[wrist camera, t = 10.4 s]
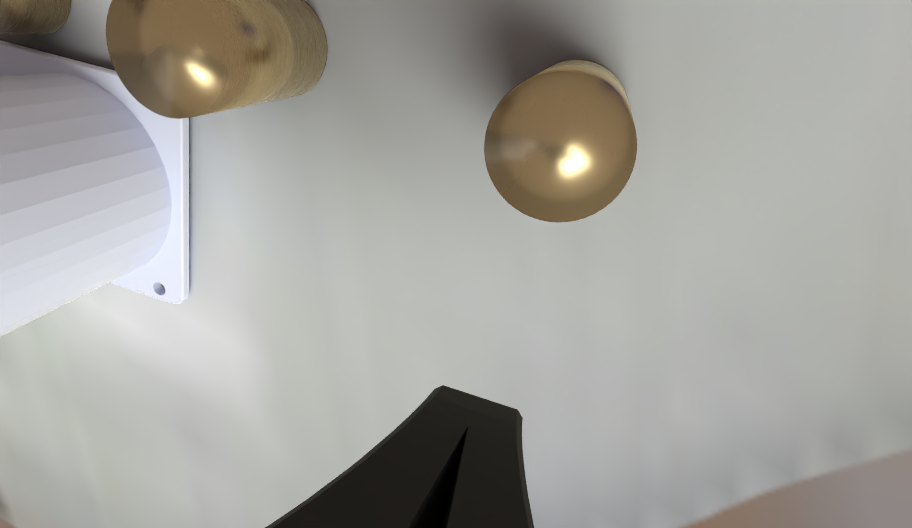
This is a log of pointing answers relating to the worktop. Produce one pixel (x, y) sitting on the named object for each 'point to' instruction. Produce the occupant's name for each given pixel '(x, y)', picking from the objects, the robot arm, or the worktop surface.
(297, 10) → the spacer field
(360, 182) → the worktop surface
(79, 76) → the robot arm
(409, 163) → the worktop surface
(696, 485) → the worktop surface
